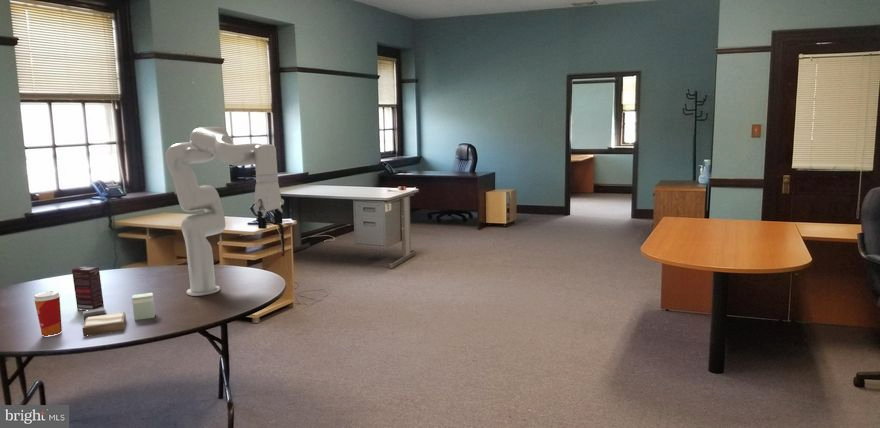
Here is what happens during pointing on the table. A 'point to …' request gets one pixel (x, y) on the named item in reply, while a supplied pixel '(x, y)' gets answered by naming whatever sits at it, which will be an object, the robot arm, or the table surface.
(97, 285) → the supplement box
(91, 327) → the wooden tray
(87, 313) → the gray box
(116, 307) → the table surface
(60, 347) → the table surface
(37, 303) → the paper cup
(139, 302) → the carton
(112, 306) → the table surface
